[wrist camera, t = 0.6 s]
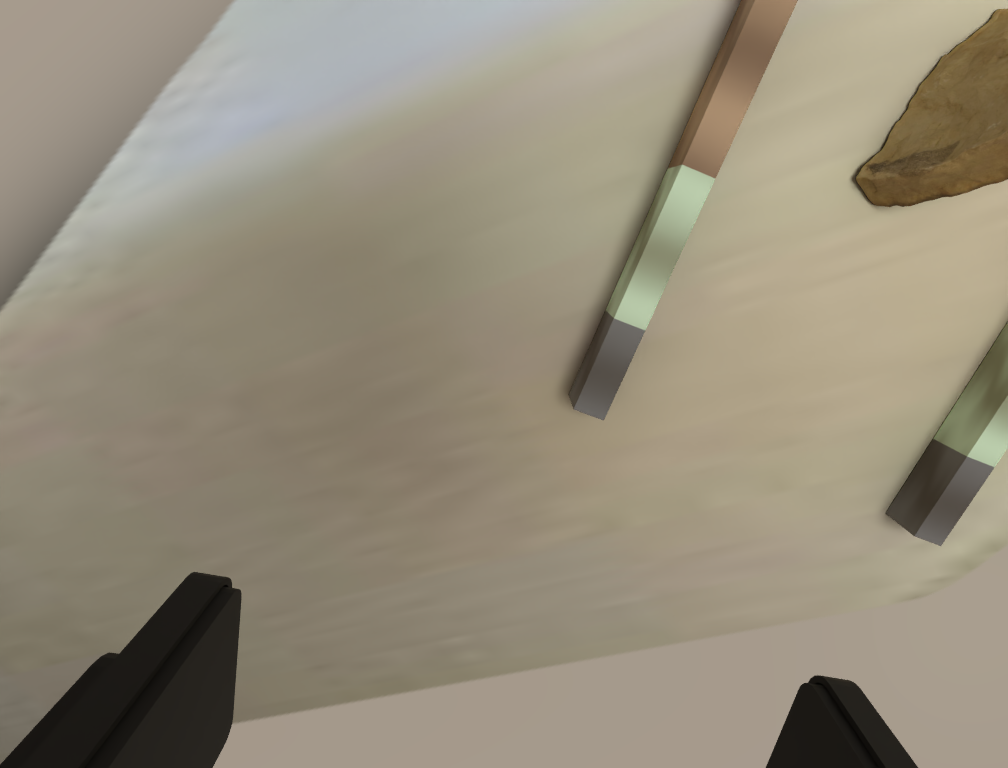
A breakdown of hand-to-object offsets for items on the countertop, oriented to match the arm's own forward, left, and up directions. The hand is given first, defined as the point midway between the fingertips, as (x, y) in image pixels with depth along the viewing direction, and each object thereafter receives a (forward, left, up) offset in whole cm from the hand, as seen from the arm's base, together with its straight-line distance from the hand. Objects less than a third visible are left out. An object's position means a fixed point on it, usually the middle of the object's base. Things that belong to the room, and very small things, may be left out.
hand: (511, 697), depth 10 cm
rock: (-21, +18, -29) cm, 40 cm away
